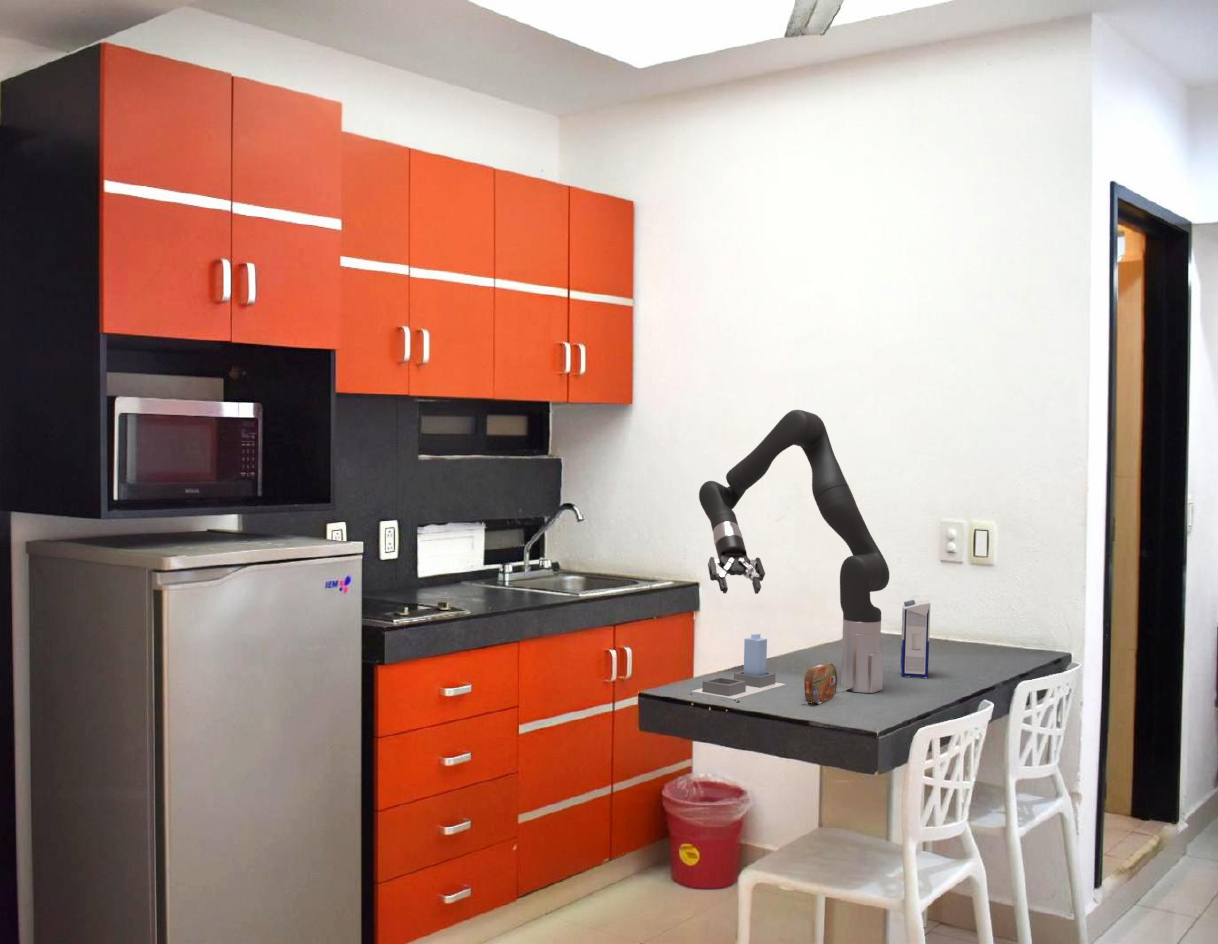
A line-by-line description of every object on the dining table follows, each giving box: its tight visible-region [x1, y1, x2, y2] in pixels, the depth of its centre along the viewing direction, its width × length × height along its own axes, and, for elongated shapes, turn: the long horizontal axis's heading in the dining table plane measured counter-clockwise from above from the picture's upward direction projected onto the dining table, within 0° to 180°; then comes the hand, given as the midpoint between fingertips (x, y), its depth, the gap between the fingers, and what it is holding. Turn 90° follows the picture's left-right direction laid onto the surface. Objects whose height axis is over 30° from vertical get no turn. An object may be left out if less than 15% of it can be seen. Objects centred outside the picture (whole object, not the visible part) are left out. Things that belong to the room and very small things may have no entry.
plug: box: [743, 632, 768, 677], centre depth 294 cm, size 4×4×12 cm
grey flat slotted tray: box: [691, 670, 787, 701], centre depth 289 cm, size 12×24×4 cm, turn 142°
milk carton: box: [900, 599, 931, 678], centre depth 317 cm, size 7×7×20 cm
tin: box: [803, 662, 838, 705], centre depth 281 cm, size 15×3×8 cm, turn 148°
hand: (741, 591), depth 306 cm, fingers open, 8 cm apart
